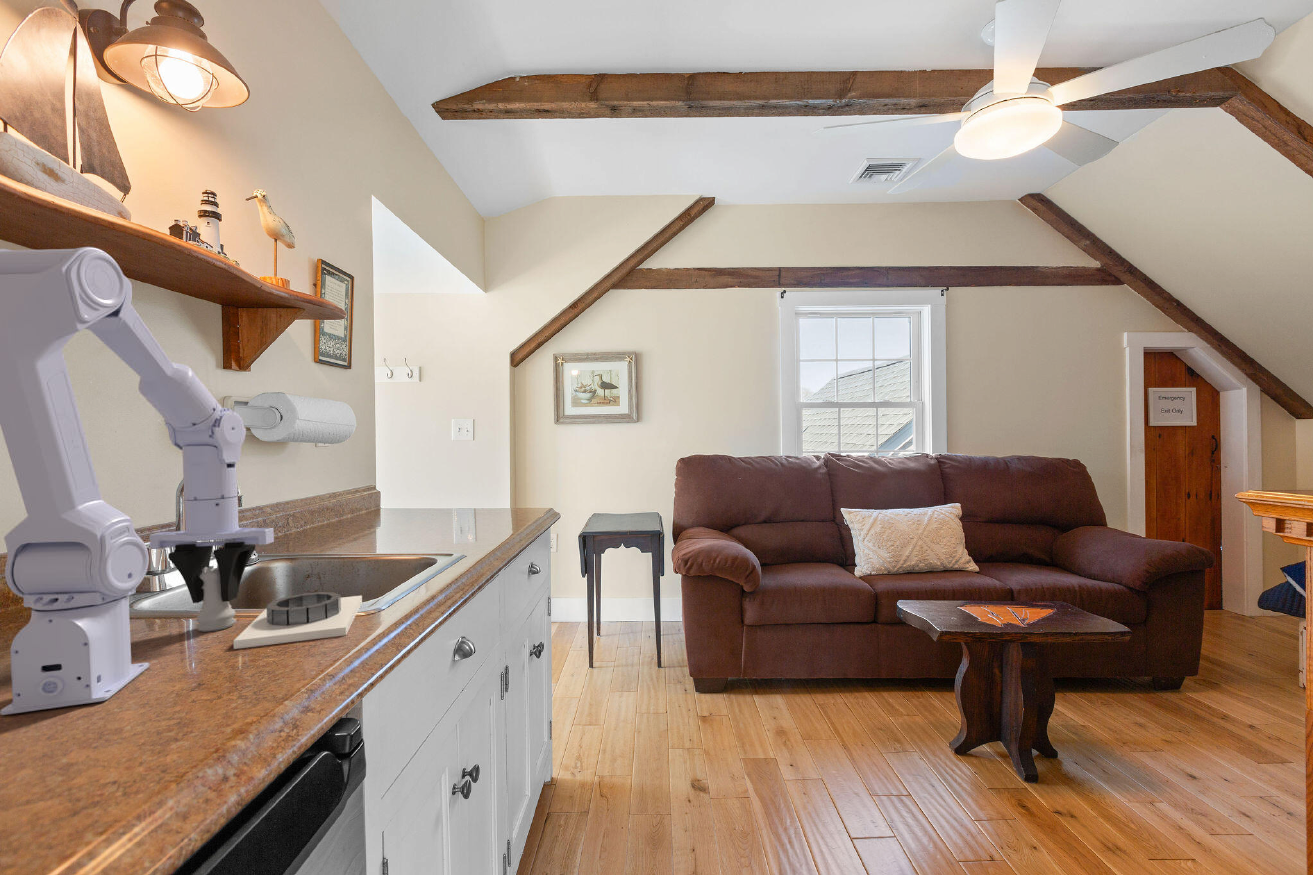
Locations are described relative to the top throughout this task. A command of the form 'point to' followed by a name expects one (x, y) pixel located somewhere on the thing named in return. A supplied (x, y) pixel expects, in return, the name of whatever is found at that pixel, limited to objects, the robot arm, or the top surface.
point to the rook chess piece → (214, 604)
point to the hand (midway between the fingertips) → (215, 600)
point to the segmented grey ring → (303, 608)
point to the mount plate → (299, 627)
